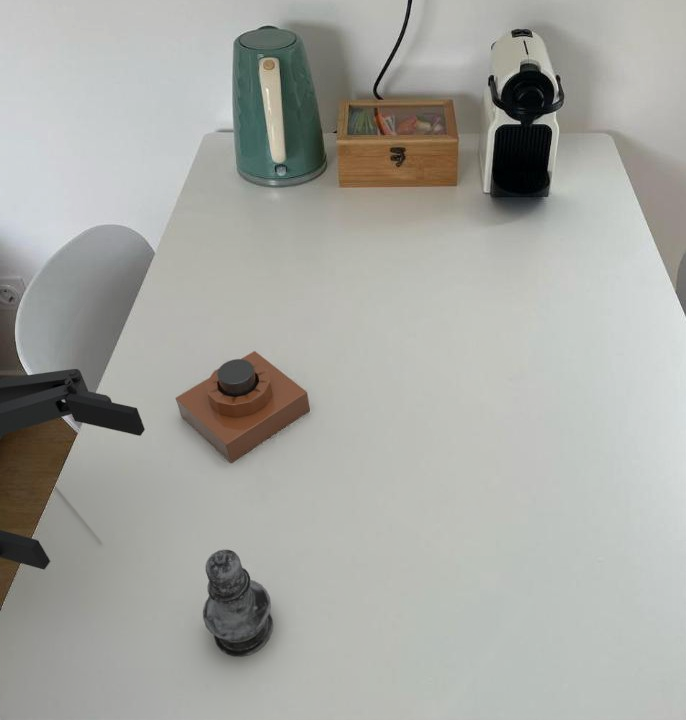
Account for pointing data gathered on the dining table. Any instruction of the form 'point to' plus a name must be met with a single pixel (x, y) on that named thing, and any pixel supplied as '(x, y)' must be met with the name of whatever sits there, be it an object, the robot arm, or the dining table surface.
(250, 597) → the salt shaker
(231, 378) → the button
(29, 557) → the robot arm
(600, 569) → the dining table surface
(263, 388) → the brown square base plate
